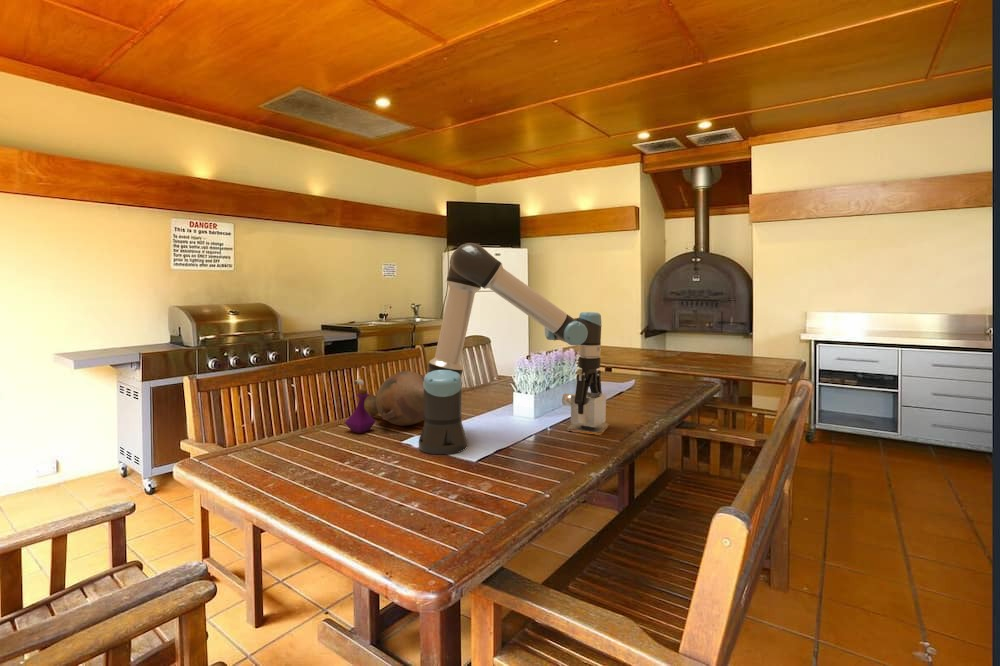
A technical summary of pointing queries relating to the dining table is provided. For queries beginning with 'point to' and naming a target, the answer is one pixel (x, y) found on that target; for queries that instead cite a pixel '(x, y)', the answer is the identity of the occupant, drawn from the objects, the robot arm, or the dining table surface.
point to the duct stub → (587, 428)
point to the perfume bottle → (360, 413)
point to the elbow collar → (588, 408)
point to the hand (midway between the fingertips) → (588, 419)
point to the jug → (399, 399)
